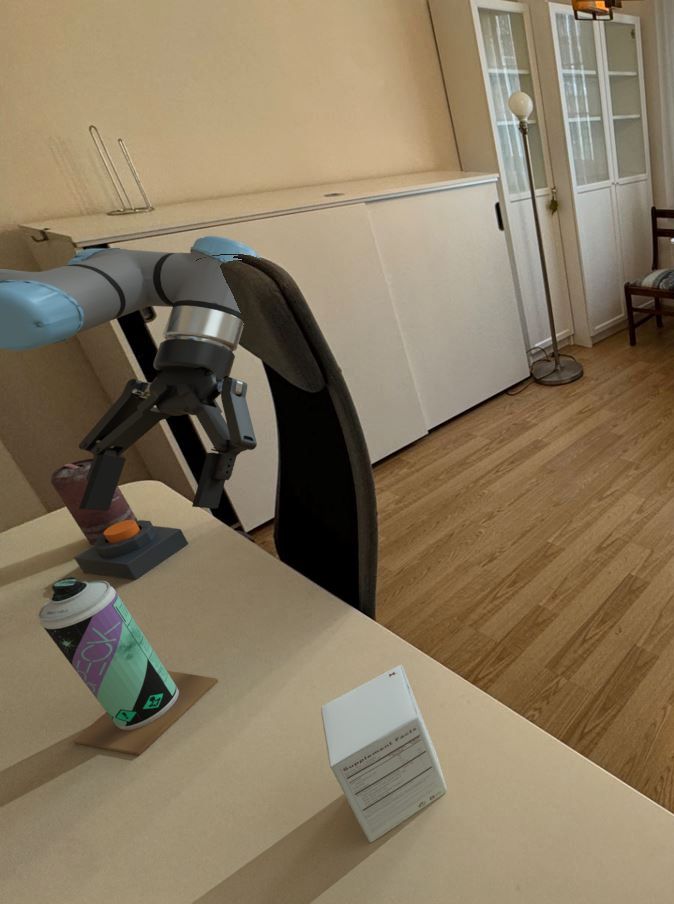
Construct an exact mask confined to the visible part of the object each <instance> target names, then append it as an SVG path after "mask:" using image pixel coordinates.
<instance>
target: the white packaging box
mask: <svg viewBox="0 0 674 904" xmlns="http://www.w3.org/2000/svg"><path fill="white" fill-rule="evenodd" d="M320 711H321V721H322V727H323V733H324V737H325V738H324V740H325V746H326V751H327V756H328V757H327V758H328V762H329V767H330V769H331V770H332V773H333V775H334V776H335V779H336V780H337V782H338V784H339V786H340V788H341V791H342V793H343V794H344V796H345V798H346V801H347V802H348V805H349V806H350V808H351V810H352V812H353V814H354V816H355V818H356V820H357V821H358V823H359V825H360V827H361V829H362V831H363V833H364V835H365V837H366V838H367V840H368V842H369V844H370V843H372V842H374V841H376V840H377V839H379V838H381V837H382V836H383V835H385V834H387V833H388V832H389V831H391V830H393V829H394V828H395V827H397V826H399V825H400V824H402V823H403V822H404V821H406V820H408V819H410V817H412V816H414V815H415V814H417V813H418V812H419V811H421V810H423V809H424V808H426V807H427V806H428V805H430V804H431V803H432V802H434V801H436V800H437V799H438V798H440V797H441V796H443V795H444V794H446V792H448V788H447V785H446V781H445V778H444V774H443V770H442V767H441V764H440V760H439V758H438V754H437V751H436V749H435V747H434V743H433V741H432V738H431V736H430V733H429V731H428V728H427V726H426V723H425V720H424V718H423V715H422V712H421V710H420V707H419V704H418V702H417V699H416V697H415V694H414V691H413V689H412V686H411V685H410V682H409V679H408V676H407V674H406V671H405V668H404V667H403V664H399V665H397V666H395V667H393V668H391V669H389V670H387V671H385V672H383V673H381V674H380V675H379V674H378V676H376V677H374V678H372V679H370V680H368V681H366V682H365V683H363V684H360V685H359V686H357V687H355V688H353V689H351V690H350V691H348V692H345V693H343V694H342V695H340V696H338V697H336V698H334V699H333V700H331V701H329V702H327V703H325V704H324V705H322V706H321V707H320Z"/></svg>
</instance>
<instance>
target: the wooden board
mask: <svg viewBox="0 0 674 904" xmlns="http://www.w3.org/2000/svg"><path fill="white" fill-rule="evenodd" d="M166 671H167V672H168V674H169V675H170V677H171V679H172V680H173V682H174V683H175V685H176V686H177V689H178V690H179V695H178V698H177V699H176V701H175V703H174V704H173V705H172V706H171V707H170V708H169V709H168V710H167V711H166V712H165V713H164V714H163V715H161V716H160V717H159V718H157V719H155V720H154V721H152V722H150V723H148V724H146V725H144V726H142V727H139V728H136V729H132V730H122V729H120V728H118V727H117V725H116V724H115V723H114V722H113V720H112V719H111V718H110V716H109V715H108V714H107V712H106V711H105V713H103V714H102V715H101V716H100V717H99V718H97V719H96V720H95V721H94V722H93V723H92V724H90V725H89V726H88V727H87V728H86V729H84V731H82V732H81V733H80V734H79V735H78V736H76V737H75V738H74V739H73V740H72V742H73V743H74V744H78V745H83V746H88V747H94V748H98V749H103V750H108V751H114V752H119V753H124V754H130V755H135V756H141V755H142V754H143V753H144V752H145V751H146V750H147V749H149V747H150V746H151V745H152V744H154V743H155V742H156V741H157V740H158V739H159V738H160V737H161V736H163V734H164V733H165V732H166V731H167V730H168V729H169V728H171V727H172V725H174V723H175V722H177V720H179V719H180V718H181V717H182V716H183V715H184V714H185V713H186V712H187V711H188V710H190V709H191V708H192V707H193V705H195V704H196V703H197V702H198V701H199V700H200V699H201V698H202V697H203V696H204V695H205V694H206V693H207V692H209V690H210V689H212V688H213V687H214V686H215V685H216V684H217V683H218V682H219V680H218V678H215V677H210V676H204V675H197V674H191V673H190V674H189V673H185V672H178V671H172V670H167V669H166Z"/></svg>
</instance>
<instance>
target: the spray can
mask: <svg viewBox="0 0 674 904" xmlns="http://www.w3.org/2000/svg"><path fill="white" fill-rule="evenodd" d="M51 590H52V591H53V594H52V595H51V596H50V597H49V600H48V601H47V602H46V603H45V604H44V605H43V606H42V607H41V608H40V609H39V611H38V613H37V617H38V619H39V622H40V625H41V626H42V628H43V629H44V630H45V632H46V633H47V634H48V635H49V637H50V639H52V641H53V642H54V643H55V645H56V646H57V649H59V651H60V652H61V653H62V654H63V656H64V658H66V660H67V661H68V662H69V663H70V665H71V667H72V668H73V669H74V671H75V672H76V673H77V675H78V676H79V677H80V679H81V680H82V681H83V683H84V685H86V687H87V689H89V691H90V692H91V694H92V695H93V696H94V697H95V699H96V700H97V702H98V703H99V705H100V706H101V707H102V709H103V710H104V711H105V713H106V712H107V714H108V715H109V716H110V718H111V719H112V720H113V722H114V723H115V724H116V725H117V727H118V728H120V729H122V730H132V729H136V728H139V727H142V726H144V725H146V724H148V723H150V722H152V721H154V720H155V719H157V718H159V717H160V716H161V715H163V714H164V713H165V712H166V711H167V710H168V709H169V708H170V707H171V706H172V705H173V704H174V703H175V701H176V699H177V698H178V695H179V690H178V689H177V686H176V685H175V683H174V682H173V680H172V679H171V677H170V675H169V674H168V672H167V671H168V670H167V669H166V667H165V666H164V665H163V662H162V661H161V660H160V658H159V657H158V655H157V654H156V652H155V650H154V649H153V647H152V645H151V644H150V643H149V641H148V640H147V638H146V636H145V635H144V633H143V631H142V630H141V629H140V627H139V626H138V624H137V622H136V621H135V619H134V617H133V616H132V615H131V613H130V612H129V610H128V608H127V607H126V605H125V604H124V602H123V601H122V599H121V598H120V595H119V594H118V592H117V591H116V590H115V588H114V587H113V586H112V585H110V583H109V582H108V581H106V580H92V581H88V582H87V581H79V580H77V578H76V577H73V576H69V577H65V578H62V579H59V580H58V581H56V582H54V583H53V584H52V586H51ZM166 670H167V671H166Z"/></svg>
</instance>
